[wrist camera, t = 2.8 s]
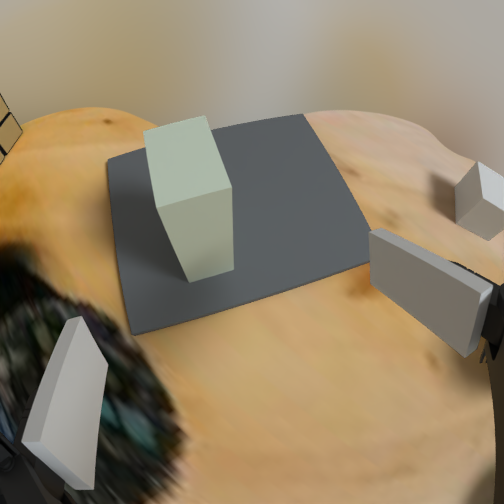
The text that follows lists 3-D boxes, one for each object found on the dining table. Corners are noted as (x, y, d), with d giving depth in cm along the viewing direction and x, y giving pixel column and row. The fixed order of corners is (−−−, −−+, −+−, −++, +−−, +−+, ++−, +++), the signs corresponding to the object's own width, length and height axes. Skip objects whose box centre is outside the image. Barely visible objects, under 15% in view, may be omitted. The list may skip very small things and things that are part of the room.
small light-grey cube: (488, 241, 30) (516, 219, 25) (455, 224, 31) (482, 198, 26) (485, 205, 33) (509, 181, 27) (454, 187, 33) (477, 160, 28)
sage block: (189, 282, 26) (156, 208, 15) (173, 223, 28) (143, 131, 17) (233, 269, 27) (232, 187, 16) (214, 212, 29) (205, 115, 18)
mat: (134, 335, 24) (131, 334, 24) (109, 163, 32) (107, 159, 31) (380, 258, 29) (383, 255, 28) (301, 118, 36) (302, 113, 35)
